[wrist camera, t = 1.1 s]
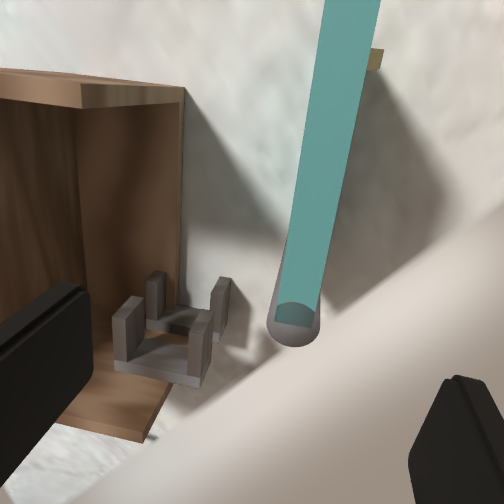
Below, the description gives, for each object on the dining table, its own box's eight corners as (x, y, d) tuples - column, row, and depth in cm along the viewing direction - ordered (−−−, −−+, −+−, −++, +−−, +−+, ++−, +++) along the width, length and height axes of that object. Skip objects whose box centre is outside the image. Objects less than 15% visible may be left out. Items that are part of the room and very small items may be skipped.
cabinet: (248, 95, 27) (190, 97, 15) (226, 332, 35) (177, 451, 24) (65, 72, 28) (-117, 58, 17) (85, 304, 37) (-26, 403, 25)
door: (372, 34, 24) (413, -14, 13) (325, 261, 31) (326, 353, 20) (319, 28, 25) (317, -22, 14) (284, 254, 31) (263, 341, 20)
